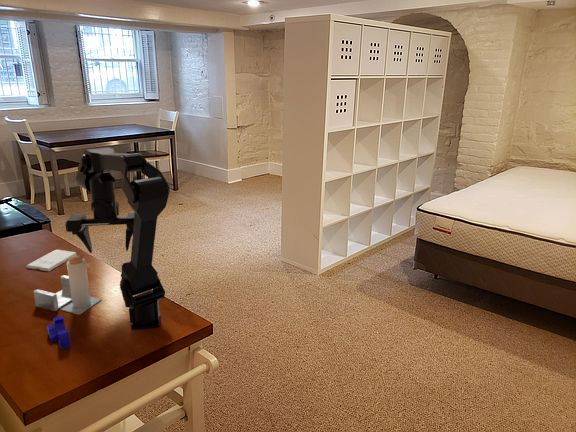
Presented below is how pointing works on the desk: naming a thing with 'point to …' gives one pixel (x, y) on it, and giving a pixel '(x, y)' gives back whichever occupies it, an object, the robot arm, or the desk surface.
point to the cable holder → (59, 332)
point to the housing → (54, 296)
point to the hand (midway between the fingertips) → (109, 251)
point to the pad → (79, 311)
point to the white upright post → (78, 282)
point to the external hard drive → (51, 260)
